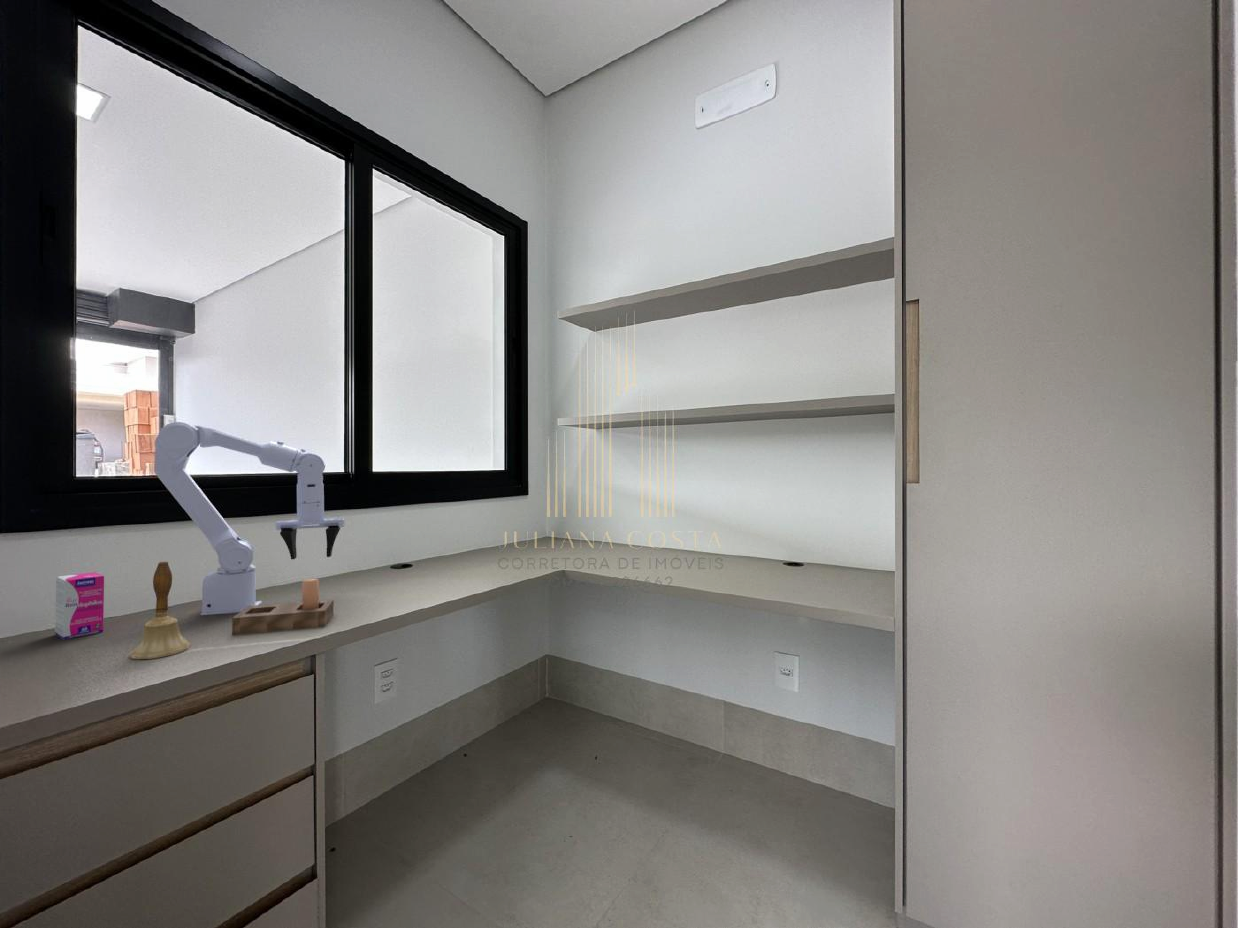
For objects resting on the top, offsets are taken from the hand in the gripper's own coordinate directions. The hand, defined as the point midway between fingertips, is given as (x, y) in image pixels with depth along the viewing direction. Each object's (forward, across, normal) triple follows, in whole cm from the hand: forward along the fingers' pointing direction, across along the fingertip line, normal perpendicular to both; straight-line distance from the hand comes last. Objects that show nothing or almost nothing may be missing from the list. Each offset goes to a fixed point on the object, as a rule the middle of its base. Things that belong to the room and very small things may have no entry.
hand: (311, 557), depth 128 cm
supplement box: (+10, -38, -14) cm, 41 cm away
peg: (+10, +4, -21) cm, 24 cm away
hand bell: (+10, -18, -31) cm, 37 cm away
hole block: (+10, 0, -21) cm, 23 cm away
